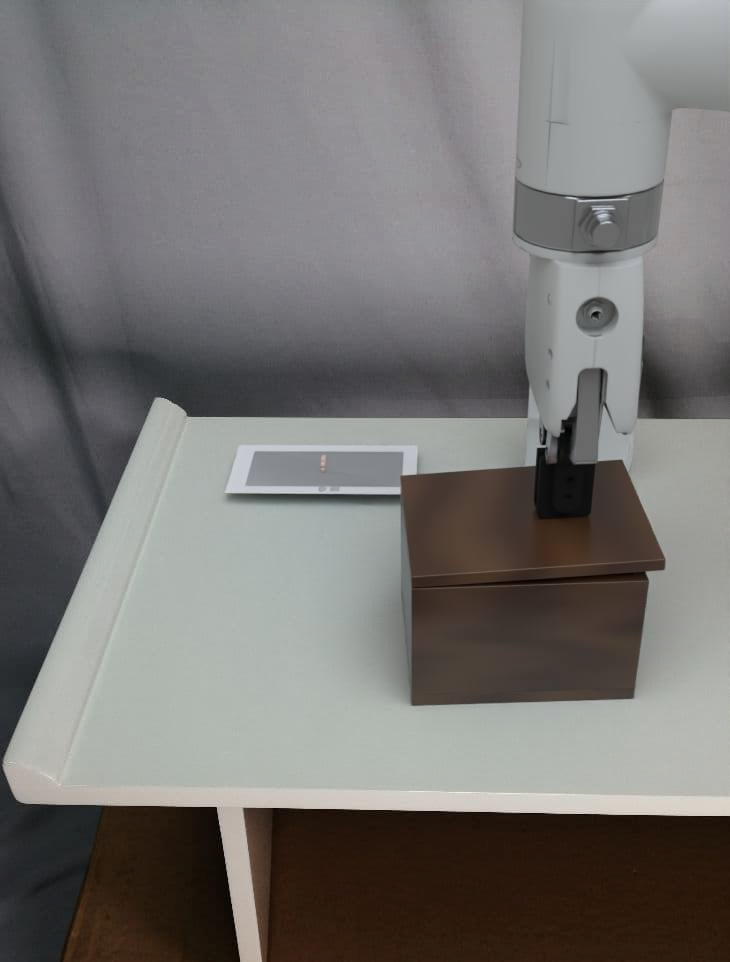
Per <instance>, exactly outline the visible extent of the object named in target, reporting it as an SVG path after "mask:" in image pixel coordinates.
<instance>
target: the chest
mask: <svg viewBox="0 0 730 962" xmlns="http://www.w3.org/2000/svg"><path fill="white" fill-rule="evenodd" d="M649 579H650V578H649V577H648V575H647V572H633V573H618V574H603V575H589V576H574V577H560V578H545V579H531V580H516V581H501V582H487V583H472V584H458V585H443V586H429V587H414V588H413V587H412V586H411V578H410V568H409V559H408V549H407V540H406V531H405V521H404V512H403V502H402V493H401V494H400V596H401V607H402V618H403V629H404V639H405V651H406V663H407V671H408V682H409V692H410V694H409V695H410V703H411V706H429V705H431V706H432V705H457V704H458V705H461V704H489V703H490V704H491V703H493V704H494V703H519V702H520V703H521V702H522V703H523V702H555V701H556V702H557V701H583V700H584V701H585V700H587V701H588V700H590V701H591V700H618V699H620V700H621V699H622V700H623V699H634V697H635V691H636V684H637V675H638V668H639V661H640V654H641V646H642V639H643V632H644V625H645V624H644V623H645V616H646V609H647V603H648V602H647V601H648V593H649V586H650V580H649Z"/></svg>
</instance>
